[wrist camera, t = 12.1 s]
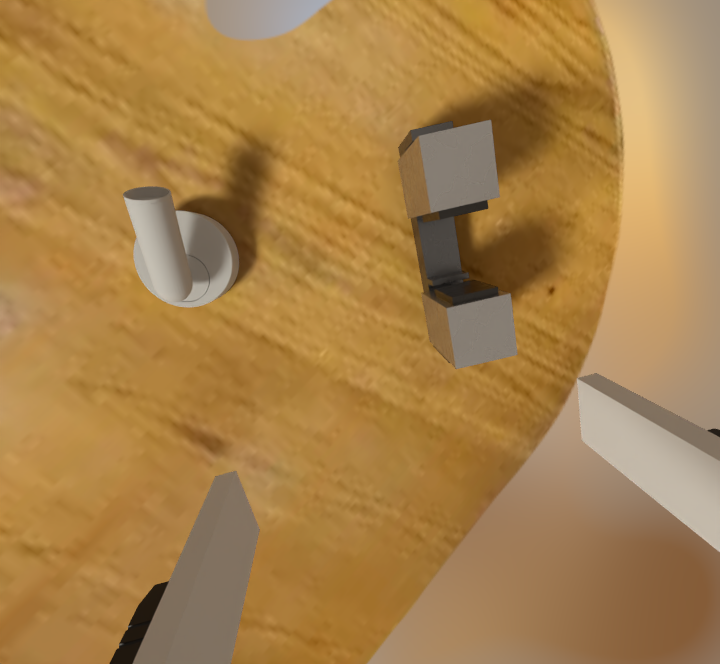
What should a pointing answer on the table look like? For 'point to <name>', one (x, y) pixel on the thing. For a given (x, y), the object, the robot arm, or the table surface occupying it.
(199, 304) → the wall hook
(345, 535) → the table surface
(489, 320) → the light grey block
